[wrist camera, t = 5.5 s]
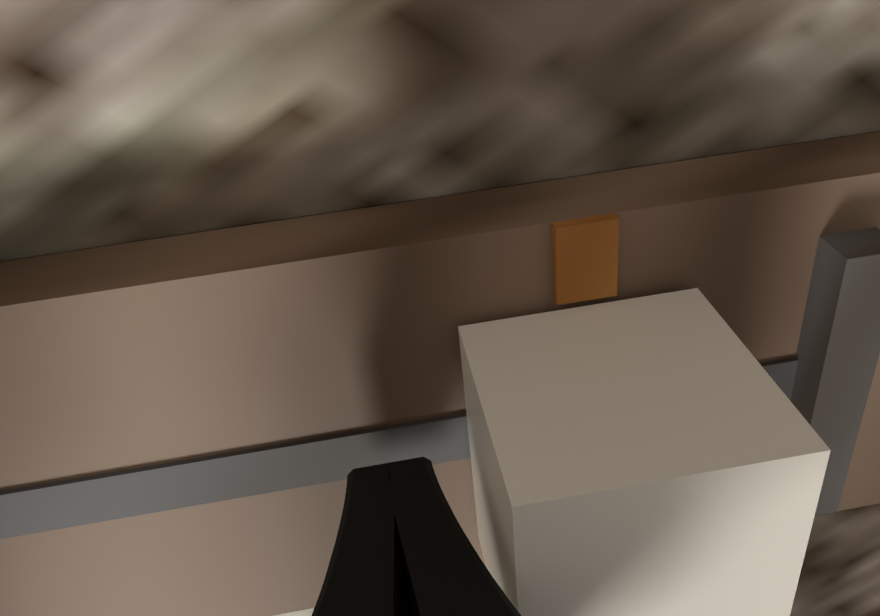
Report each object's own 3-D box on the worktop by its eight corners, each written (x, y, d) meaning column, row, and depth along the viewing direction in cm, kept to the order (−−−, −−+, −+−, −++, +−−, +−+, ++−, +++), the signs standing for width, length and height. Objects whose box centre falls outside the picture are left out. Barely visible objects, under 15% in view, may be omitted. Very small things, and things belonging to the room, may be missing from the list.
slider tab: (696, 287, 13) (830, 449, 10) (675, 500, 16) (773, 682, 12) (458, 326, 13) (512, 507, 9) (478, 535, 15) (525, 731, 12)
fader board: (943, 122, 14) (1047, 172, 12) (854, 452, 18) (918, 528, 16) (-310, 307, 12) (-423, 399, 10) (-79, 620, 17) (-129, 725, 15)
